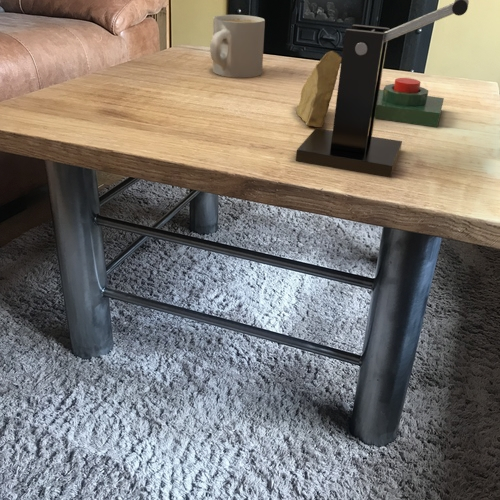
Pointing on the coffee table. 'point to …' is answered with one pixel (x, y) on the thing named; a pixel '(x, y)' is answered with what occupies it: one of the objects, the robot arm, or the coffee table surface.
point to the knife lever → (427, 19)
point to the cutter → (355, 111)
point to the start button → (407, 85)
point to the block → (409, 106)
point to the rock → (319, 90)
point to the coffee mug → (237, 45)
